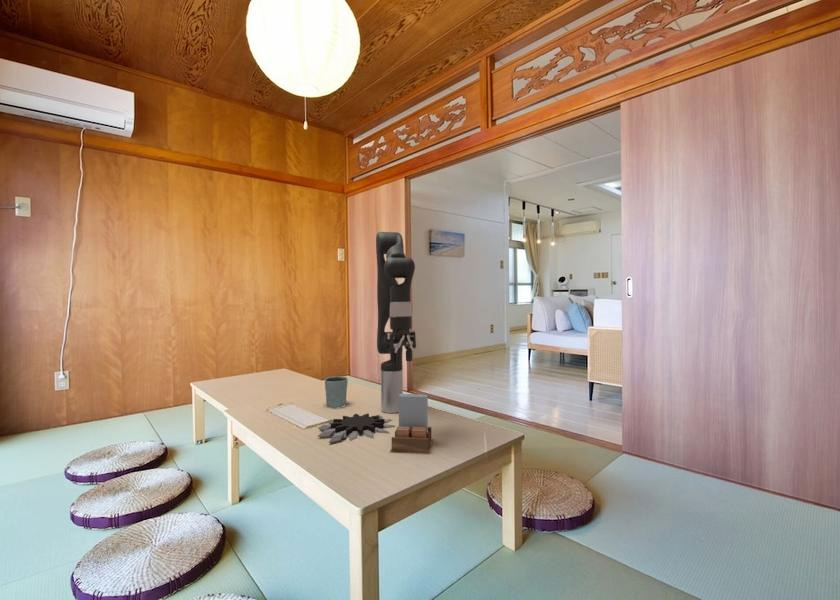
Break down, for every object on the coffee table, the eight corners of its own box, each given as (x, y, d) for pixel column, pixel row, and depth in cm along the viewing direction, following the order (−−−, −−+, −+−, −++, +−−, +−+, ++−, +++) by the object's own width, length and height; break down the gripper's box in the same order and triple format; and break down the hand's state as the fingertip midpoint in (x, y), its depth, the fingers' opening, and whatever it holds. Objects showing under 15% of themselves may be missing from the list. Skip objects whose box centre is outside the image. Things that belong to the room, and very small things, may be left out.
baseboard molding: (299, 432, 139) (329, 424, 148) (299, 424, 139) (329, 417, 148) (265, 413, 162) (292, 407, 170) (265, 406, 162) (292, 401, 170)
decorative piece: (296, 426, 133) (353, 404, 159) (296, 437, 133) (353, 414, 159) (364, 442, 118) (415, 415, 144) (364, 455, 118) (415, 426, 144)
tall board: (400, 439, 126) (400, 393, 125) (427, 440, 124) (427, 394, 124) (398, 443, 123) (398, 396, 122) (426, 444, 121) (426, 397, 121)
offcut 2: (413, 446, 120) (413, 427, 120) (426, 446, 119) (425, 427, 119) (411, 450, 117) (411, 430, 117) (424, 450, 116) (424, 430, 116)
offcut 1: (397, 445, 121) (397, 426, 121) (410, 446, 120) (410, 426, 120) (395, 449, 118) (395, 429, 118) (408, 449, 117) (408, 430, 117)
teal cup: (341, 401, 178) (341, 375, 178) (352, 406, 170) (352, 378, 170) (320, 405, 171) (320, 378, 171) (331, 410, 163) (330, 382, 163)
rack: (397, 442, 127) (396, 425, 127) (433, 443, 126) (432, 427, 126) (389, 457, 115) (389, 439, 115) (429, 459, 114) (428, 440, 114)
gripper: (404, 315, 140) (405, 359, 140) (378, 316, 128) (379, 364, 128) (421, 314, 136) (422, 360, 135) (396, 315, 124) (397, 366, 124)
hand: (401, 362), depth 132 cm, fingers open, 8 cm apart
